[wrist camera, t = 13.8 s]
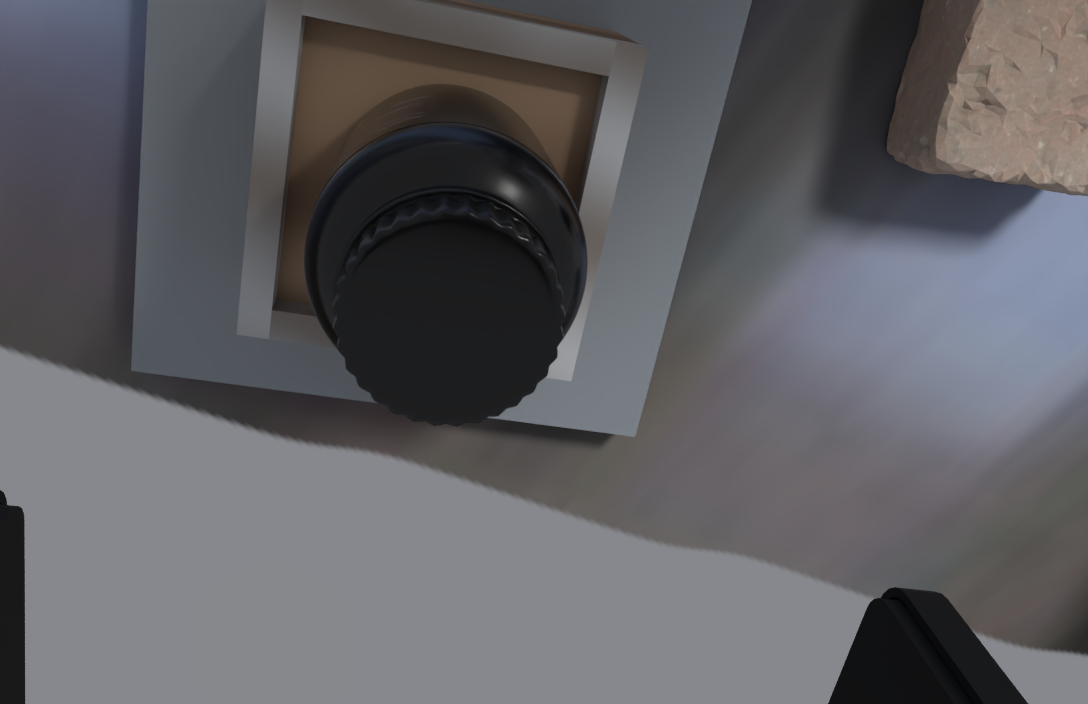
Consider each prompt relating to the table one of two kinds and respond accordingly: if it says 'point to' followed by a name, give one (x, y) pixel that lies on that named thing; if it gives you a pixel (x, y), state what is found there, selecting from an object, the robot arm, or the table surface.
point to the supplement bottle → (445, 256)
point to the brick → (997, 93)
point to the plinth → (406, 62)
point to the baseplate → (223, 356)
